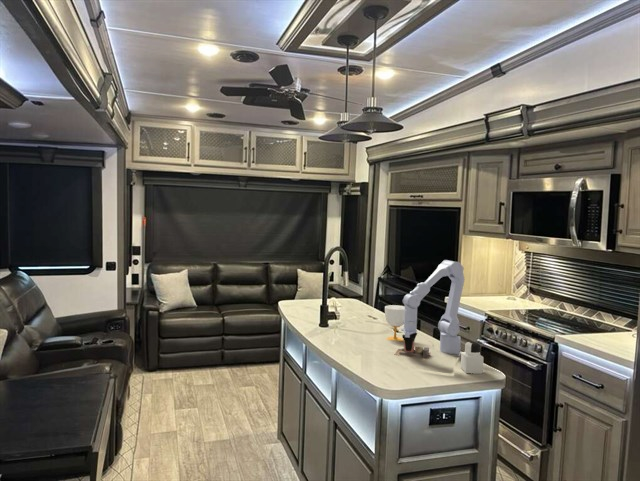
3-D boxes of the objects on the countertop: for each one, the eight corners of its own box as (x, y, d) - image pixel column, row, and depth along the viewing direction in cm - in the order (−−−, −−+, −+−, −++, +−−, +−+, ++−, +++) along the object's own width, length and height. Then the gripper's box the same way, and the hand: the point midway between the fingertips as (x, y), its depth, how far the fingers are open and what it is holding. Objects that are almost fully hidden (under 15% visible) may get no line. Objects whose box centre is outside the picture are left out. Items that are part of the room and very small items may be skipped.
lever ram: (414, 352, 219) (414, 340, 219) (412, 354, 215) (412, 342, 215) (405, 351, 221) (405, 339, 220) (403, 353, 216) (404, 341, 216)
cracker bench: (430, 355, 220) (431, 346, 220) (427, 361, 210) (427, 352, 209) (398, 351, 225) (399, 342, 225) (393, 357, 215) (394, 348, 215)
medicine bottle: (476, 368, 202) (478, 340, 202) (483, 374, 195) (484, 345, 195) (460, 368, 202) (461, 340, 201) (466, 373, 195) (467, 345, 194)
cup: (406, 343, 239) (407, 310, 239) (382, 341, 242) (384, 308, 241) (406, 337, 251) (407, 305, 250) (384, 335, 253) (385, 304, 252)
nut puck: (423, 353, 217) (423, 347, 217) (422, 356, 214) (422, 349, 214) (415, 353, 219) (415, 346, 218) (414, 355, 215) (414, 348, 215)
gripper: (404, 316, 225) (403, 344, 226) (398, 322, 212) (397, 352, 212) (419, 317, 223) (418, 346, 223) (414, 324, 209) (413, 354, 210)
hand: (409, 349), depth 218 cm, fingers closed on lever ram, 4 cm apart
